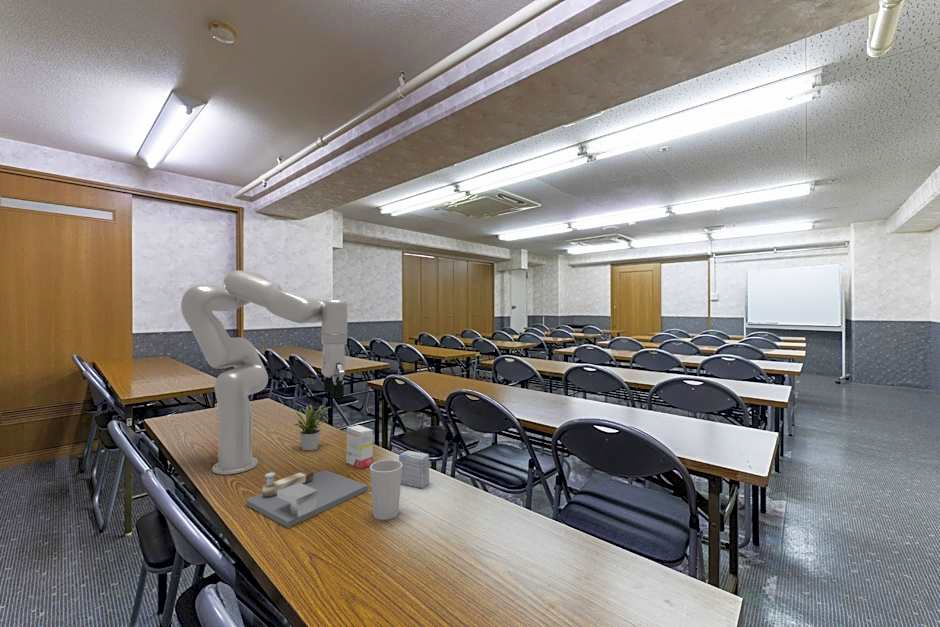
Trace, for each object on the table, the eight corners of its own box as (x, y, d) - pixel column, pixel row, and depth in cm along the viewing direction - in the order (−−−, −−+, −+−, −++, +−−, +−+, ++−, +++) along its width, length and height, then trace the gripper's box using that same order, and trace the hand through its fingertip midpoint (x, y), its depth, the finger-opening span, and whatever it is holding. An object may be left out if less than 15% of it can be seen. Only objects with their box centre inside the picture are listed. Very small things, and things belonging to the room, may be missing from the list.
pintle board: (246, 505, 105) (246, 478, 105) (325, 474, 125) (325, 451, 125) (288, 528, 94) (288, 497, 94) (367, 490, 114) (367, 465, 114)
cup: (407, 508, 104) (408, 462, 104) (391, 524, 96) (392, 473, 96) (380, 503, 106) (380, 458, 106) (363, 518, 99) (363, 469, 99)
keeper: (277, 508, 100) (277, 490, 100) (299, 499, 105) (299, 482, 105) (295, 518, 96) (296, 499, 96) (318, 508, 101) (318, 490, 101)
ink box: (373, 465, 133) (373, 429, 133) (360, 469, 129) (361, 432, 129) (358, 458, 138) (358, 424, 138) (345, 462, 135) (345, 427, 134)
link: (267, 497, 105) (267, 489, 105) (259, 494, 107) (259, 486, 107) (314, 479, 116) (314, 472, 116) (306, 476, 118) (306, 469, 118)
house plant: (342, 446, 150) (342, 403, 150) (309, 458, 138) (309, 410, 138) (317, 440, 157) (317, 398, 157) (284, 450, 146) (284, 405, 146)
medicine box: (429, 483, 119) (429, 453, 119) (421, 489, 115) (421, 459, 115) (407, 478, 122) (407, 449, 122) (398, 484, 118) (398, 454, 118)
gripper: (315, 337, 130) (314, 390, 131) (329, 342, 116) (328, 401, 116) (338, 337, 135) (337, 388, 135) (355, 341, 120) (354, 398, 120)
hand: (333, 394), depth 125 cm, fingers open, 9 cm apart
